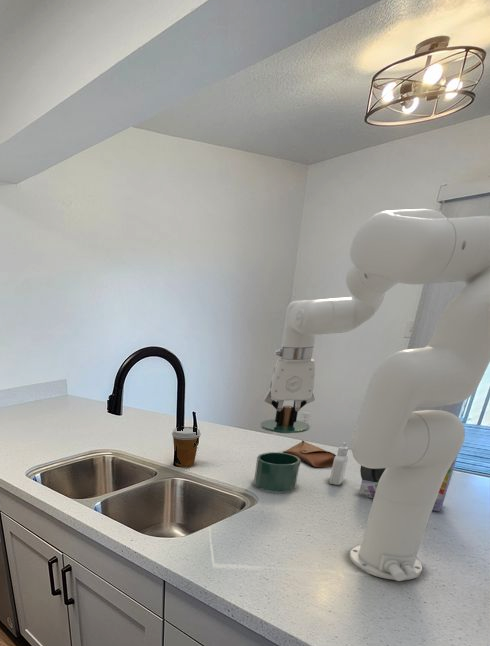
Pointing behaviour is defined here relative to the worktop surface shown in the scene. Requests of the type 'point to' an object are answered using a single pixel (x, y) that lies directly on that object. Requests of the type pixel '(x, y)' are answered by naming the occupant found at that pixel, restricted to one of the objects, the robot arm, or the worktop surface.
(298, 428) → the lid
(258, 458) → the canister
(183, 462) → the disposable coffee cup
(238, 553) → the worktop surface
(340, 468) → the eye dropper bottle
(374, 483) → the cake pan box
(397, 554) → the robot arm
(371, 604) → the worktop surface
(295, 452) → the sunglasses case
